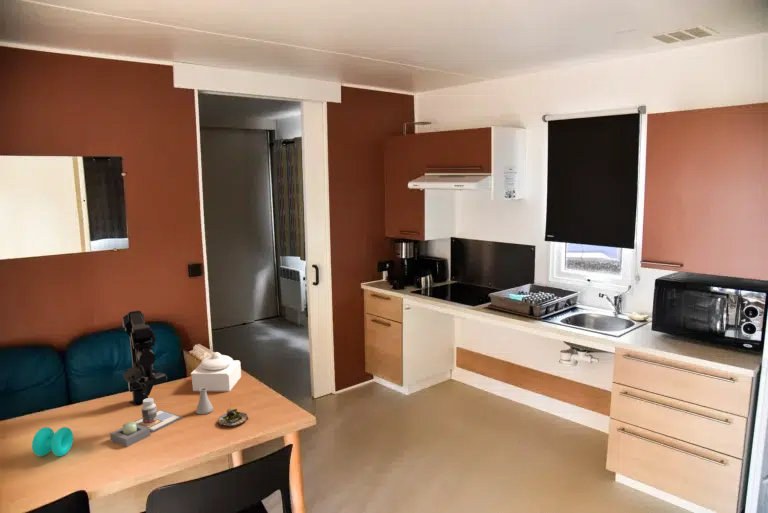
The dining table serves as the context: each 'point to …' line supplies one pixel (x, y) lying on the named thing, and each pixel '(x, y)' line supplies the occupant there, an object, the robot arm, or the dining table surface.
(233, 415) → the plate of food
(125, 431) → the button
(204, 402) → the flask
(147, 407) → the pill bottle
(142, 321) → the robot arm
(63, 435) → the donuts
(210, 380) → the butter dish
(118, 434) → the button housing
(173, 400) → the dining table surface
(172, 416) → the colouring board
